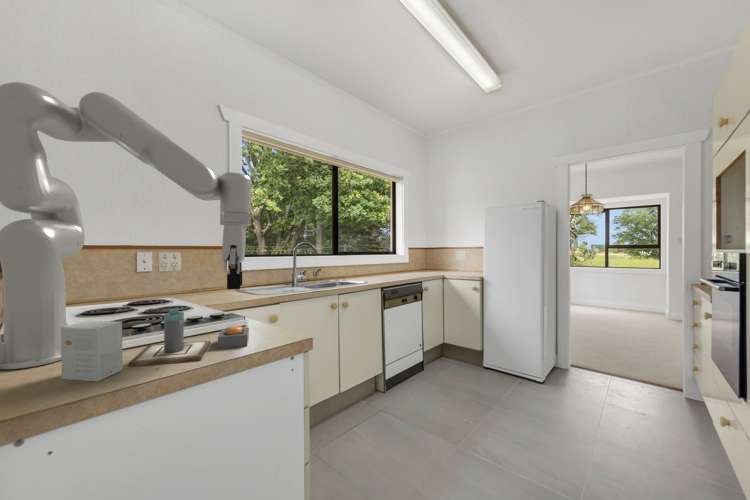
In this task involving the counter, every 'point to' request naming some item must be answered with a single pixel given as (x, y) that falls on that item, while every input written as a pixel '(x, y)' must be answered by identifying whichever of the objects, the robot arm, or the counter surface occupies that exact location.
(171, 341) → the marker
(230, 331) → the button
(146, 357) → the wooden picture frame
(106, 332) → the small box
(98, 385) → the counter surface
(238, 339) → the button housing
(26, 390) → the counter surface
